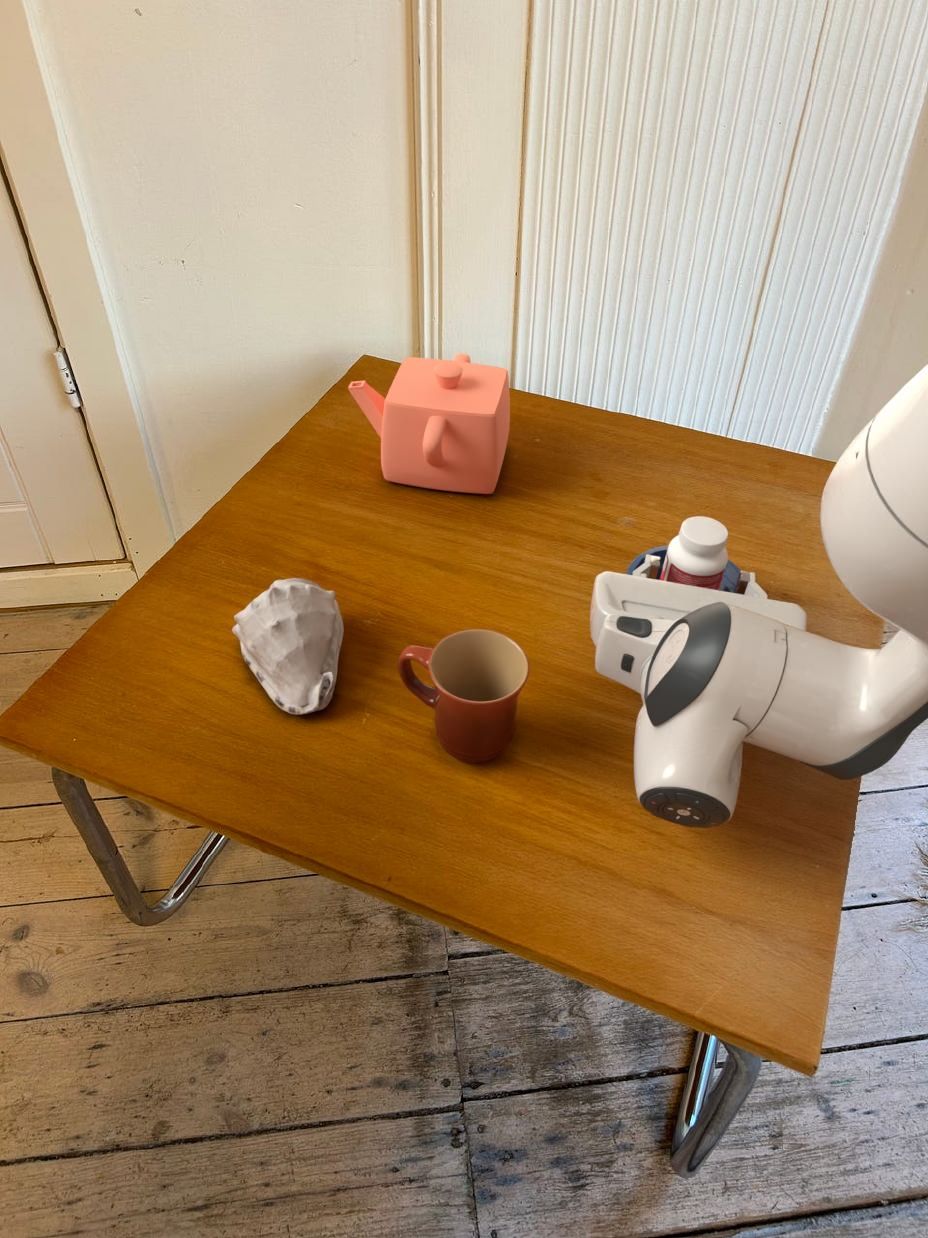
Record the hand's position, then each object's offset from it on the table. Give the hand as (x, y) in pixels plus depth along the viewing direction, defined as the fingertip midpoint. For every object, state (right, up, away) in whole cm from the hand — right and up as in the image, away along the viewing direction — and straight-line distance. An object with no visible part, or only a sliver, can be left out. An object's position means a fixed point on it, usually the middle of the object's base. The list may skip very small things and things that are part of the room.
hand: (698, 567), depth 88 cm
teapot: (-29, +15, +26) cm, 41 cm away
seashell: (-40, -10, 0) cm, 41 cm away
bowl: (0, -4, +7) cm, 8 cm away
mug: (-24, -16, -5) cm, 30 cm away
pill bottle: (0, -4, +7) cm, 8 cm away
